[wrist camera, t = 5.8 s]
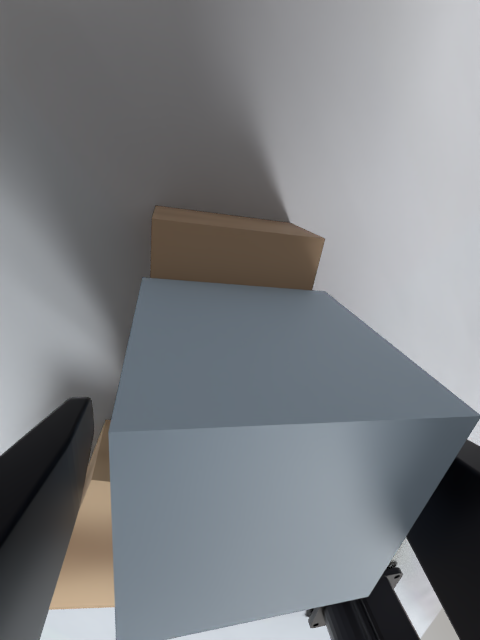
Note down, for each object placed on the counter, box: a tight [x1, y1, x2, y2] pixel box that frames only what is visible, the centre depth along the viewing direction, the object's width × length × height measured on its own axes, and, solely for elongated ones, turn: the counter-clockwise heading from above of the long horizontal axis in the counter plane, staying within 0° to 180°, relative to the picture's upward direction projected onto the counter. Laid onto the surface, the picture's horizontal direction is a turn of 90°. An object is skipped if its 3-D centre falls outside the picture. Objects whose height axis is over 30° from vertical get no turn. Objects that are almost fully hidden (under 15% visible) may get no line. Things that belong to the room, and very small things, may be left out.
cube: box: [108, 277, 480, 640], centre depth 7 cm, size 5×5×5 cm
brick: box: [49, 419, 115, 609], centre depth 13 cm, size 8×4×3 cm, turn 154°
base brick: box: [150, 206, 325, 290], centre depth 11 cm, size 8×4×3 cm, turn 171°
